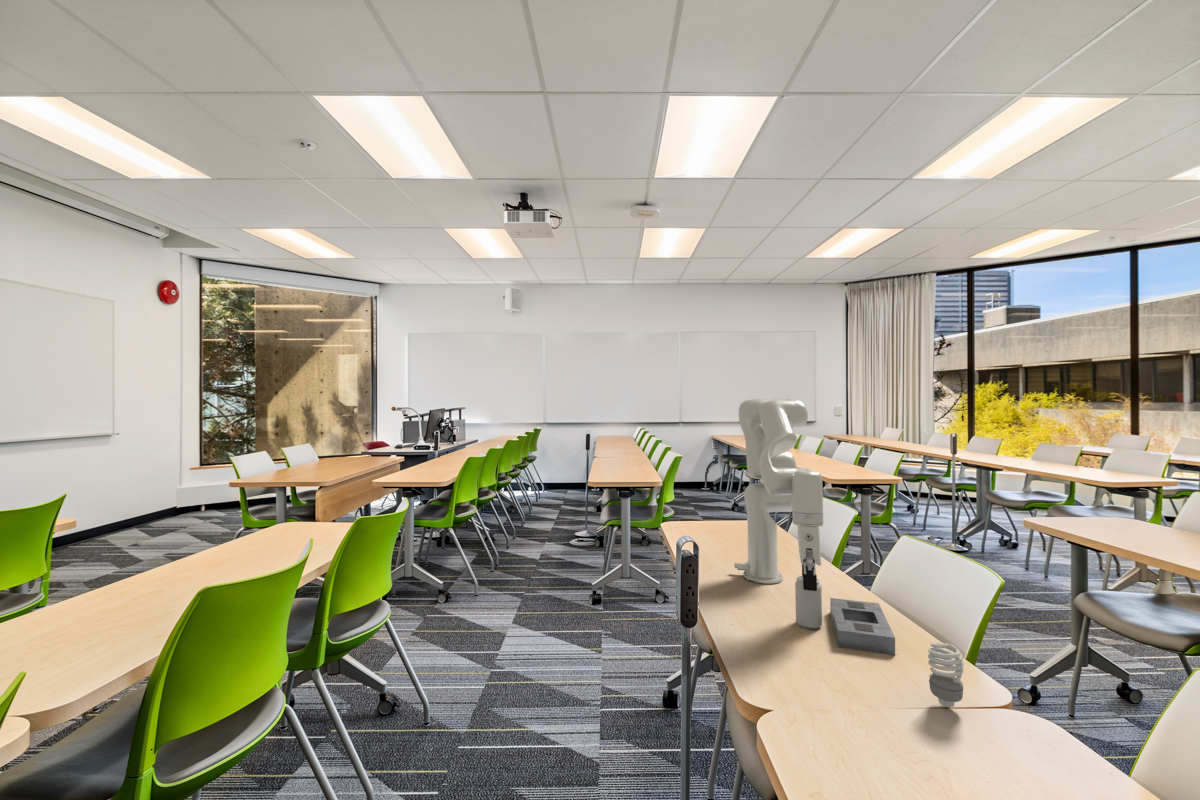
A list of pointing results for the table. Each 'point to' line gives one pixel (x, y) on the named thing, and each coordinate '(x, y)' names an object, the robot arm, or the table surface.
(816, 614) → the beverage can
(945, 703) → the light bulb
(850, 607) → the gray slotted block
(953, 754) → the table surface
